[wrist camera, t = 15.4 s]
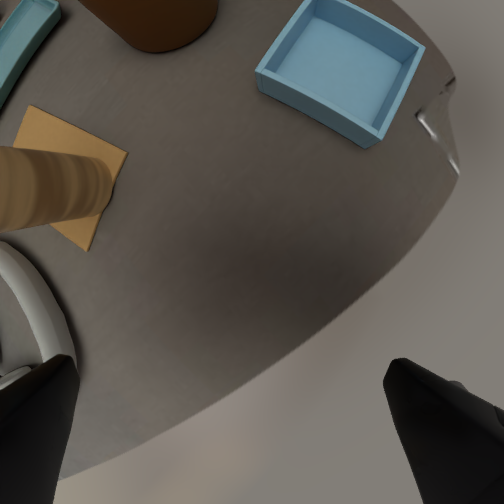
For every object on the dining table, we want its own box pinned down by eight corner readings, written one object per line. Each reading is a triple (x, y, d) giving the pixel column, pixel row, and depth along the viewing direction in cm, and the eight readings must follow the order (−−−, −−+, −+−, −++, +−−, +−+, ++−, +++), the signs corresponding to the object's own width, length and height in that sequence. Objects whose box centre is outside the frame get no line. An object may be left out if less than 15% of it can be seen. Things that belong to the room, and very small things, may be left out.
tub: (406, 65, 16) (425, 47, 12) (364, 149, 17) (382, 140, 14) (310, 13, 16) (314, -14, 12) (258, 90, 17) (254, 70, 14)
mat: (128, 152, 19) (126, 152, 18) (88, 251, 20) (86, 251, 20) (31, 105, 18) (29, 104, 18) (3, 184, 20) (1, 184, 20)
